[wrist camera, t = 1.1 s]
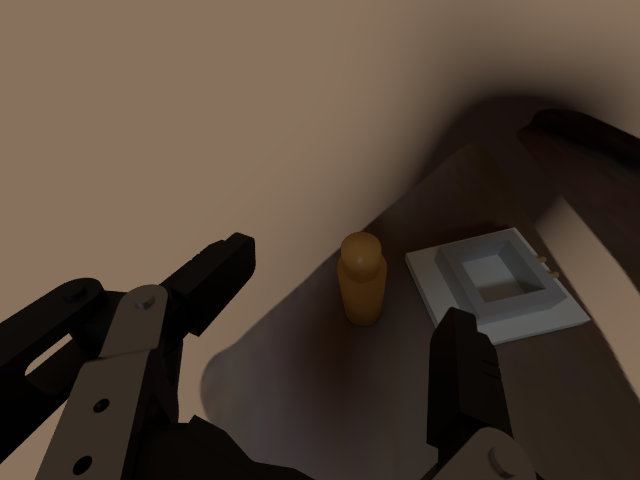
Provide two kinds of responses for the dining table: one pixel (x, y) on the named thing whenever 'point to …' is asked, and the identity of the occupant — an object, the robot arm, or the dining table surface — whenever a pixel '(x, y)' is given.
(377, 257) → the stepped amber cylinder
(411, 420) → the dining table surface
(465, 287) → the hollow square frame plate
